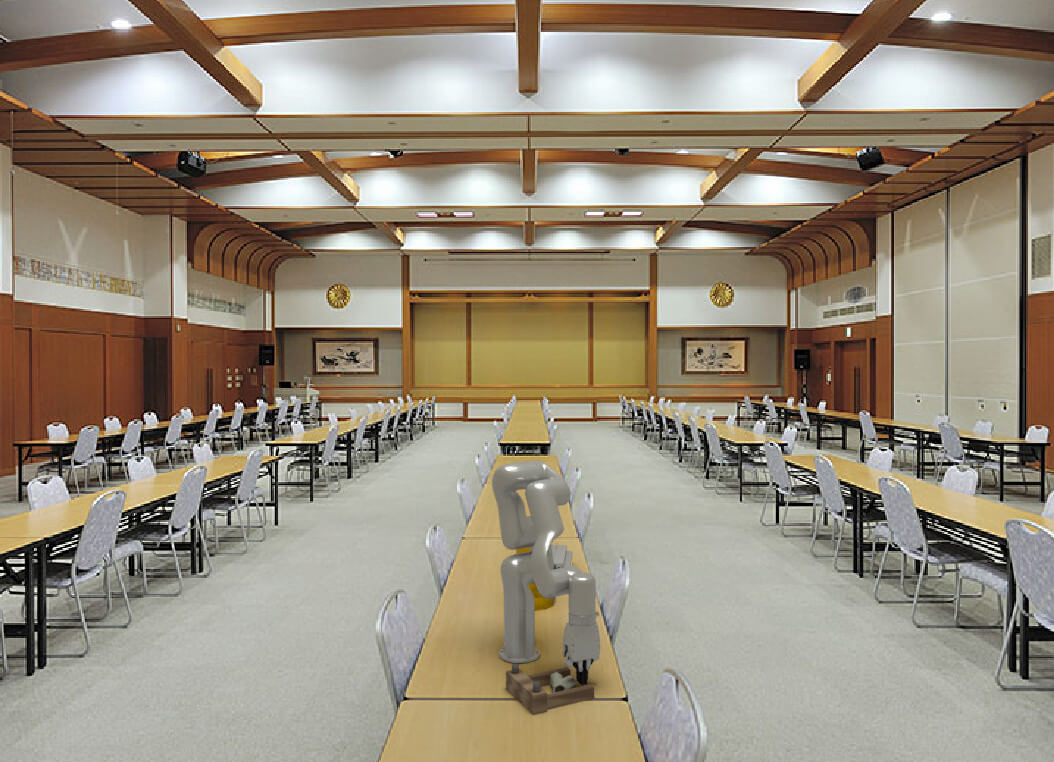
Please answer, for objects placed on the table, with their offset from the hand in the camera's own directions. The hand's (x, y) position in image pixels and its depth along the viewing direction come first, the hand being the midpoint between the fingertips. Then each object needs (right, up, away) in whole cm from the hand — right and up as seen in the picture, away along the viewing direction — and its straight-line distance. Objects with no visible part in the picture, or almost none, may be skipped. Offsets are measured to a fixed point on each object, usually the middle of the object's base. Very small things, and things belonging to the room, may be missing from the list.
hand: (582, 683), depth 206 cm
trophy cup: (-14, 0, +73) cm, 75 cm away
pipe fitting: (-5, -2, -2) cm, 6 cm away
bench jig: (-10, -1, -5) cm, 11 cm away
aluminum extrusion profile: (-4, +1, +112) cm, 112 cm away
